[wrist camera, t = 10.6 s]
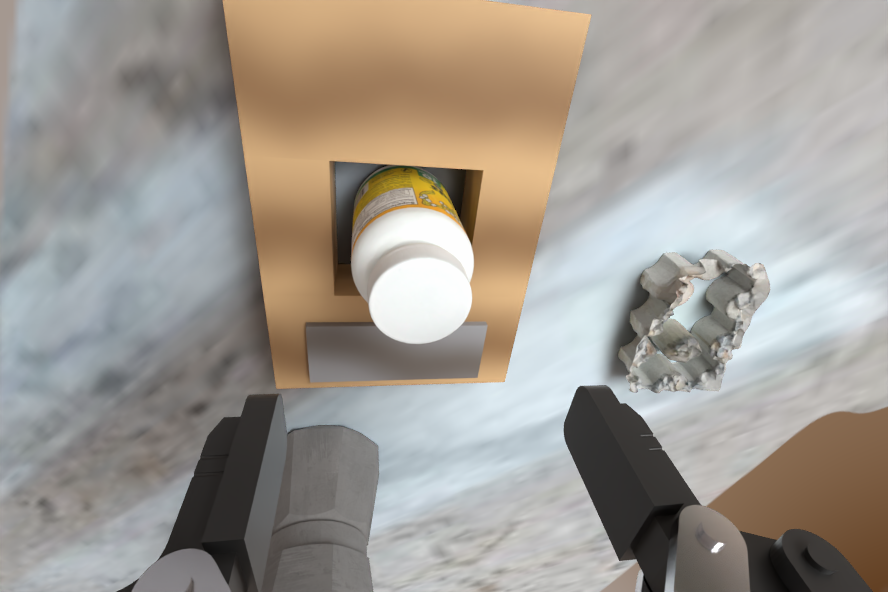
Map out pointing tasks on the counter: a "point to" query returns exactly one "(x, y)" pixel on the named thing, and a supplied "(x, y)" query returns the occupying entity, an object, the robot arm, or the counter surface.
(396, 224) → the supplement bottle
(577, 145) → the counter surface
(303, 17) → the jig
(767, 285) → the egg carton
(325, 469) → the coffeepot
